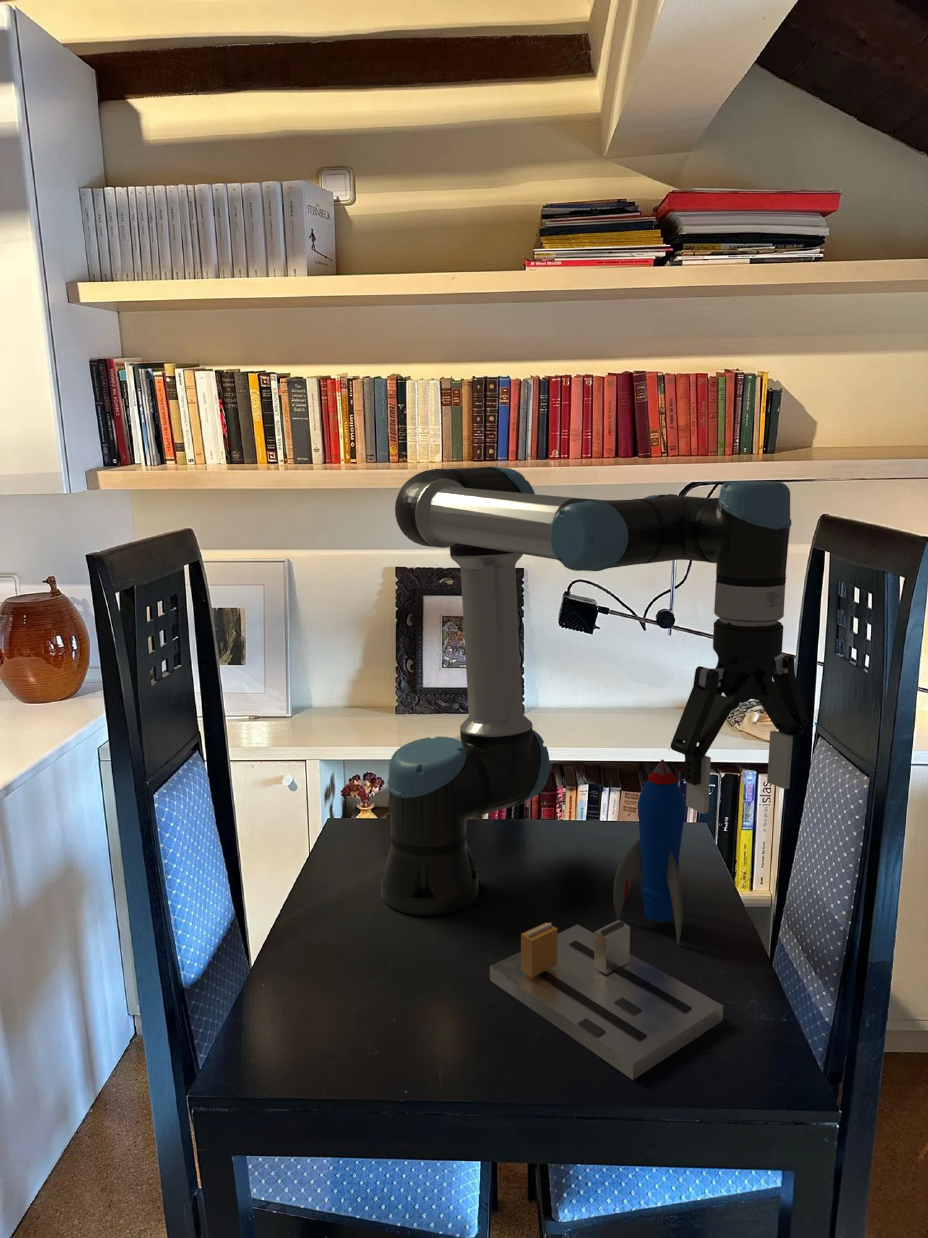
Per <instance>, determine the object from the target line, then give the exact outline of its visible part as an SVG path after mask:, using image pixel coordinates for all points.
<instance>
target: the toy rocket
mask: <svg viewBox="0 0 928 1238" xmlns="http://www.w3.org/2000/svg"><path fill="white" fill-rule="evenodd" d="M685 814H686V802H685V798H684V795H683V792H682V789H681V787H680V785H679V784H678V782H677V778H676V776H675V775H674V773H673V771H671V768H669V766H668V765H667V762H665V760H664V759H660V761H659V763H657V765H656V766H655V767H654V769H653V770H652V772H651V773H650V774H649V775H648V776H647V780H646V782H645V783H644V784H643V787H642V789H641V791H640V793H639V796H638V801H637V817H638V831H639V832H638V833H639V839H638V840H636V841H635V842H634V843H633V844H632V845H631V846H630V847H629V848H628V850H627V851H626V852H625V853H624V855H623V856H622V858H621V860H620V862H619V864H618V867H617V869H616V873H615V875H614V883H613V891H612V893H613V906H614V908H613V909H614V912H615V917H616V921H617V920H619V921H621V915H622V911H623V907H624V904H625V902H626V898H627V895H628V894H629V891H630V888H631V886H632V885H633V883H634V882H635V880H636V879H637V878H638V877H639V875H641V874H642V881H641V882H640V890H641V897H642V899H643V916H644V917H645V918H646V919H647V920H649V921H651V922H656V923H666V922H670V921H671V920H672V919H673V917H674V925H675V933H676V935H675V936H676V944H677V946H680V939H681V934H682V927H683V914H684V913H683V912H684V910H683V906H684V905H683V903H684V902H683V891H682V882H681V879H680V854H681V853H680V852H681V845H682V837H683V830H684V822H685V820H684V819H685V816H686V815H685Z"/></svg>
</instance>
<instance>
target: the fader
mask: <svg viewBox="0 0 928 1238" xmlns="http://www.w3.org/2000/svg"><path fill="white" fill-rule="evenodd" d="M557 934H558V928H557V927H555V926H553V925H552V922H549V923H548V922H544V923H542V924H540V925H538V926H535V927H533V928H531V929H529V930H527V931H524V932H522V933H520V951H521V971H523V972H524V973H526V974H527V975H529V976H530V977H534V976H536V975H538V974H540V973H542V972H544V971H546V970H548V969H550V968H552V967H554V966H556V965H557Z"/></svg>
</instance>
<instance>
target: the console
mask: <svg viewBox="0 0 928 1238" xmlns="http://www.w3.org/2000/svg"><path fill="white" fill-rule="evenodd" d="M630 943H631V926H630V925H629V924H627V923H625V921H624V920H620V921H619V920H617V919H616V921H613V922H612V923H609V924H607V925H604V926H603V927H601V928H599V929H598V930H595V931H594V932H593V931H590V930H589V929H588V928H585V927H583V926H581V925H579V924H578V923H577V924H576V925H573V926H571V927H569V928H567V929H564V930H563V931H561V932H557V965H556V966H554V967H552V968H550V969H548V970H546V971H544V972H542V973H540V974H538V975H536V976H534V977H530V976H529V975H527V974H526V973H524V972H523V971H521V950H520V951H518V952H517V953H516V952H515V954H513V955H510V956H508V957H506V958H504V959H502V960H499V961H498V962H495V963H493V964H492V965H490V966H489V980H490V982H492V983H493V984H495V985H496V986H497V987H499V988H500V989H502V990H503V991H505V992H506V993H508V994H509V995H510V996H512V997H513V998H515V999H516V1000H517V1001H519V1002H521V1003H522V1004H524V1005H525V1006H526V1007H528V1008H530V1010H532V1011H533V1012H535V1013H536V1014H538V1015H539V1016H541V1017H542V1018H543V1019H545V1020H546V1021H548V1022H549V1023H551V1024H552V1025H554V1026H555V1027H556V1028H557V1029H559V1030H561V1031H562V1032H563V1033H565V1034H566V1035H568V1036H569V1037H571V1038H572V1039H573V1040H575V1041H576V1042H577V1043H579V1044H581V1045H582V1046H583V1047H585V1048H586V1049H588V1050H589V1051H591V1052H592V1053H594V1054H595V1055H596V1056H598V1057H599V1058H601V1059H602V1060H603V1061H605V1062H606V1063H608V1064H609V1065H611V1067H614V1068H615V1069H616V1070H618V1071H619V1072H621V1073H622V1074H624V1075H625V1076H627V1077H628V1078H629V1079H630V1080H632V1081H634V1080H635V1079H637V1078H638V1077H640V1076H642V1075H643V1074H645V1073H646V1072H648V1071H649V1070H651V1068H653V1067H655V1066H656V1065H658V1064H659V1063H661V1062H662V1061H664V1060H665V1059H667V1058H668V1057H670V1056H672V1055H673V1054H674V1053H676V1052H678V1051H679V1050H681V1049H682V1048H684V1047H685V1046H687V1045H688V1044H690V1043H691V1042H693V1041H694V1040H696V1039H697V1038H699V1037H701V1036H702V1035H703V1034H705V1033H706V1032H708V1031H710V1029H713V1028H714V1027H715V1026H717V1025H718V1024H720V1023H721V1022H723V1021H724V1020H723V1019H724V1017H723V1016H724V1005H723V1004H721V1003H719V1002H718V1001H716V1000H714V999H712V998H711V997H708V996H707V995H705V994H703V993H702V992H700V991H699V990H696V989H694V987H693V988H692V987H691V986H689V985H687V984H685V983H684V982H682V981H680V980H679V979H677V978H675V977H673V976H671V975H670V974H667V973H665V972H664V971H662V970H661V969H658V968H657V967H655V966H653V965H652V964H649V963H648V962H646V961H644V960H642V959H641V958H639V957H637V956H635V955H633V954H631V952H630V948H631V947H630V946H631V945H630Z"/></svg>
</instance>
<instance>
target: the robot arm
mask: <svg viewBox="0 0 928 1238" xmlns="http://www.w3.org/2000/svg"><path fill="white" fill-rule="evenodd" d="M394 515H395V520H396V523H397V525H398V527H399V529H400V531H401V532H402V534H403V535H404V536H406V537H407V539H408V540H410V541H412V542H413V543H415V544H418V545H420V546H424V547H427V548H428V547H431V548H441V549H444V548H449V557H450V558H451V559H452V561H454V562H455V563H456V565H458V566H459V568H460V580H461V583H460V584H461V596H462V597H461V598H462V599H461V600H462V602H461V603H462V615H463V616H462V617H463V618H462V619H463V632H464V634H463V635H464V636H463V637H464V651H465V670H466V671H465V673H466V690H467V705H468V706H467V708H468V717H467V718H466V719H465V720H464V721H463V722H462V723H461V724H460V726H459V727H460V728H459V731H460V732H459V733H460V735H459V736H460V740H459V739H456V738H454V737H450V736H435V737H433V738H432V737H429V736H428V737H424V738H419V739H415V740H413V741H410V742H408V743H405V744H403V745H401V746H400V747H399V748H398V749H397V750H396V751H395V752H394V753H393V755H392V756H391V758H390V760H389V763H388V778H387V788H388V793H389V795H388V797H389V825H390V826H389V827H390V848H389V852H388V855H387V858H386V862H385V865H384V870H383V872H382V875H381V878H380V895H381V899H382V900H383V902H384V903H385V904H386V905H387V906H388V907H390V908H393V910H396V911H398V912H401V913H405V914H408V915H409V914H410V915H416V916H437V915H438V916H439V915H443V914H448V913H452V912H453V913H454V912H456V911H458V910H461V909H463V908H465V907H467V906H469V905H470V904H472V903H473V902H474V901H475V900H476V899H477V897H478V894H479V874H478V872H477V868H476V866H475V863H474V861H473V860H474V859H473V858H472V854H471V852H470V849H469V846H468V843H467V821H469V820H472V819H474V818H477V817H480V816H485V815H487V814H491V813H494V812H498V811H501V810H504V809H507V808H512V807H517V806H520V805H521V804H524V803H525V802H527V801H529V800H532V799H534V798H535V797H537V796H538V795H539V794H540V793H541V792H542V791H543V789H544V788H545V786H546V784H547V782H548V780H549V779H548V778H549V775H550V767H551V766H550V763H551V762H550V755H549V751H548V747H547V746H544V743H545V741H544V739H543V737H542V736H541V735H540V734H539V732H537V731H536V730H534V728H533V722H532V720H530V719H529V718H528V717H527V716H526V715H525V714H524V713H523V699H522V680H521V678H522V677H521V655H520V637H519V634H520V633H519V619H518V618H519V614H518V612H519V611H518V597H517V573H516V565H517V562H519V560H520V559H521V558H522V557H523V555H526V556H534V557H536V558H537V557H538V558H543V559H544V558H546V559H549V560H550V559H551V560H556V561H558V562H560V563H561V564H562V565H563V567H564V568H567V569H568V570H571V571H575V572H583V571H584V572H601V571H603V570H607V569H612V568H613V569H614V568H621V567H626V566H627V567H628V566H635V565H645V564H647V565H648V564H653V563H661V562H662V563H664V562H670V561H679V560H680V561H692V562H693V561H696V562H701V563H702V562H704V563H709V564H710V563H711V564H716V565H715V566H716V567H715V568H716V569H715V574H716V576H715V577H716V578H715V593H714V604H713V605H714V607H713V613H714V615H715V616H716V617H718V618H717V619H716V620H715V621H714V622H713V633H712V649H713V652H714V653H716V655H717V659H718V660H717V663H716V666H715V668H708V667H705V666H700V665H698V666H697V667H696V668H695V671H694V679H693V686H692V688H691V690H690V693H689V696H688V698H687V701H686V703H685V707H684V709H683V711H682V715H681V717H680V719H679V722H678V725H677V727H676V730H675V731H674V734H673V738H672V740H671V743H670V749H671V750H672V751H673V752H674V751H675V752H677V753H680V754H682V755H684V774H683V776H684V777H683V779H684V782H685V783H686V795H685V796H686V797H685V807H688V809H689V808H690V809H691V810H694V811H697V812H698V813H700V814H703V815H704V814H705V815H706V814H708V813H709V808H710V807H709V801H710V800H709V799H710V784H711V783H710V781H711V779H710V778H711V763H712V761H711V760H712V757H710V756H708V755H706V754H707V753H708V751H709V750H710V748H711V746H712V744H713V743H714V741H715V740H716V737H717V736H718V735H719V733H720V731H721V729H722V727H723V725H724V724H725V722H726V720H728V717H729V715H730V714H731V712H732V711H733V710H736V709H738V707H739V705H740V704H743V703H747V702H749V701H751V700H756V701H757V700H758V702H759V704H760V706H761V707H762V708H763V710H764V711H765V713H766V715H767V717H768V718H769V719H770V722H772V725H774V727H775V729H776V730H775V729H774V730H771V731H769V742H768V743H769V745H768V747H769V748H768V761H767V762H768V763H767V777H766V783H768V784H770V785H773V786H775V787H779V788H781V789H783V790H787V789H790V783H791V771H792V770H791V769H792V768H791V767H792V759H793V756H794V749H795V736H797V737H802V736H803V735H804V731H805V730H804V728H806V727H807V726H808V725H809V722H810V721H809V720H810V719H809V716H808V713H807V710H806V706H805V703H804V700H803V697H802V693H801V690H800V686H799V682H798V680H797V675H796V672H795V671H796V666H795V665H796V663H795V662H796V661H795V657H794V655H790V654H785V653H782V652H783V639H784V638H783V637H784V625H783V624H782V622H780V620H781V619H783V618H784V617H785V601H786V599H785V598H786V595H785V594H786V583H787V582H786V581H787V575H786V574H787V563H788V551H789V539H790V530H791V527H792V518H791V490H790V487H789V486H788V485H786V484H785V482H781V481H768V480H763V481H757V480H739V481H738V480H737V481H736V480H735V481H734V480H733V481H726V482H724V483H723V484H722V485H721V486H720V490H719V495H718V497H699V496H690V495H689V496H688V495H686V496H685V495H678V494H672V493H669V494H656V495H655V494H652V495H648V496H645V497H644V498H633V499H610V500H609V499H594V498H580V497H579V498H578V497H572V496H571V497H567V496H557V495H550V494H549V495H545V494H537V493H535V491H534V489H533V487H532V485H531V483H530V482H529V481H528V480H527V479H526V478H525V476H524V475H523V474H522V473H521V472H519V471H517V470H516V469H512V468H509V467H497V466H485V467H481V466H480V467H459V468H457V467H454V468H432V469H428V470H427V469H426V470H423V471H421V472H419V473H417V474H415V475H413V476H412V477H410V478H409V479H408V480H407V481H406V482H405V483H404V484H403V485H402V486H401V488H400V490H399V492H398V494H397V496H396V499H395V505H394ZM777 730H778V731H777Z"/></svg>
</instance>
